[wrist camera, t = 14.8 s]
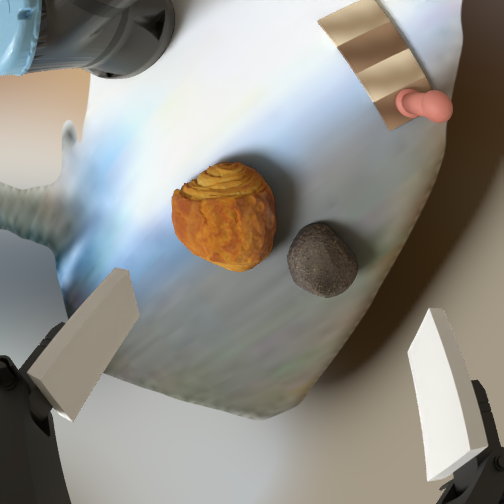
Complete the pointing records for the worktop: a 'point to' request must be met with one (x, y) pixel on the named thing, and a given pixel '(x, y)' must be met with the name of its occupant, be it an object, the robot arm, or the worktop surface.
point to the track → (376, 56)
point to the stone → (321, 261)
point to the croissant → (226, 216)
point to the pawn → (424, 104)
